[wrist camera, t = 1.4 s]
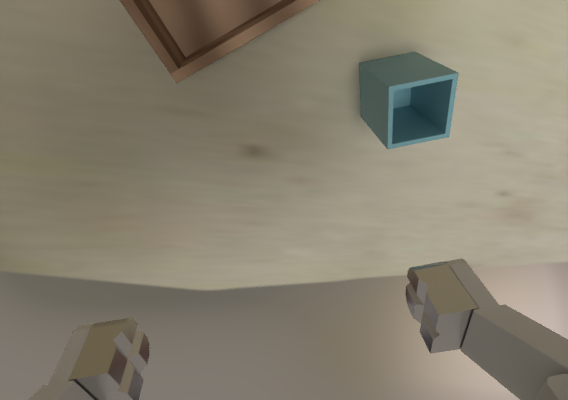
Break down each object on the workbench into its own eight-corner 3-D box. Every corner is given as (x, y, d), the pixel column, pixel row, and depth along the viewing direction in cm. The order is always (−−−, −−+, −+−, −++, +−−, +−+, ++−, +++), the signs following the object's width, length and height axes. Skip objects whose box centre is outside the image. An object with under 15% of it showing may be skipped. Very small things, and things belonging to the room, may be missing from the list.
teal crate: (360, 116, 36) (387, 149, 30) (359, 62, 33) (389, 86, 26) (411, 106, 36) (449, 136, 30) (414, 51, 33) (458, 72, 26)
